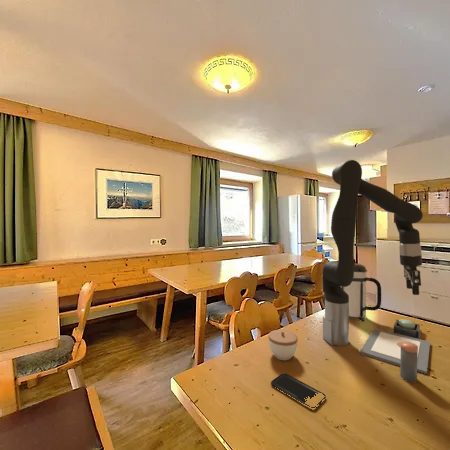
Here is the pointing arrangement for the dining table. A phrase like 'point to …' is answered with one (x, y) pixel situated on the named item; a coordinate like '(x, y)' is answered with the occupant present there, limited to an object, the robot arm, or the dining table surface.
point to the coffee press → (360, 293)
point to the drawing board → (394, 348)
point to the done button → (407, 324)
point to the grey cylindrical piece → (408, 361)
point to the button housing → (407, 330)
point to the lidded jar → (283, 344)
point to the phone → (295, 388)
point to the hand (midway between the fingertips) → (412, 291)
